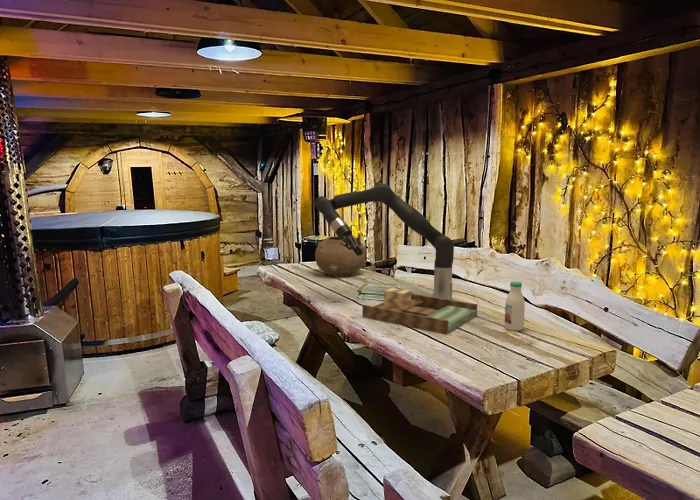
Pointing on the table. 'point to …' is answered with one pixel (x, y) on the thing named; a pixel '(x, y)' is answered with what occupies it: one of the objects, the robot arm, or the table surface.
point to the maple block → (397, 298)
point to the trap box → (425, 313)
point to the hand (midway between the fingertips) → (360, 254)
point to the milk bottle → (515, 308)
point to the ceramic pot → (338, 257)
